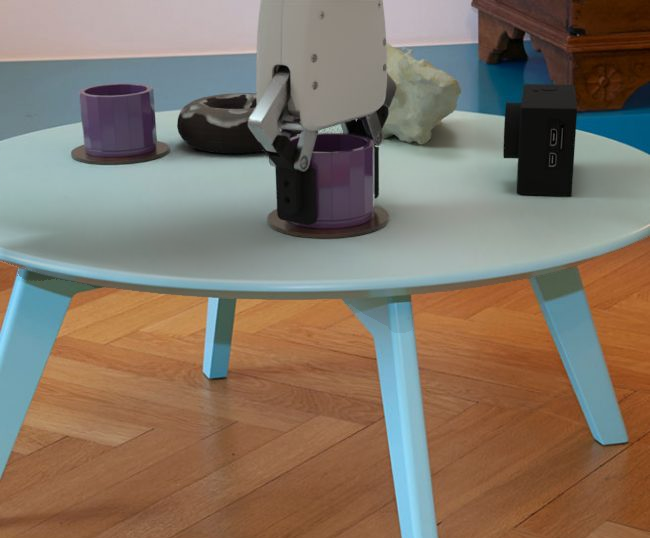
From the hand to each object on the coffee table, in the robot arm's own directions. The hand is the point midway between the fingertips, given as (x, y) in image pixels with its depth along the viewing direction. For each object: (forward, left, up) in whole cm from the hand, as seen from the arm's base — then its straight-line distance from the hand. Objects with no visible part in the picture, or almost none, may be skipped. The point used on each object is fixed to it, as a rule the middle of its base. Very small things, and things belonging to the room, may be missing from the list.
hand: (329, 206), depth 84 cm
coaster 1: (+10, +28, -1) cm, 30 cm away
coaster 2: (0, 0, -1) cm, 1 cm away
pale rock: (+27, +5, -1) cm, 27 cm away
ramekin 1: (+10, +28, -1) cm, 30 cm away
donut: (+18, +20, -1) cm, 27 cm away
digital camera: (+18, -10, -1) cm, 20 cm away
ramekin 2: (0, 0, -1) cm, 1 cm away
